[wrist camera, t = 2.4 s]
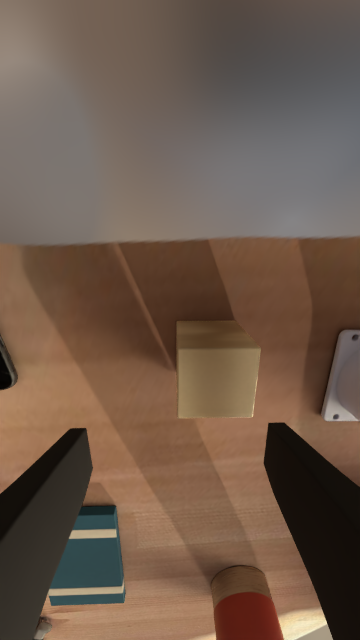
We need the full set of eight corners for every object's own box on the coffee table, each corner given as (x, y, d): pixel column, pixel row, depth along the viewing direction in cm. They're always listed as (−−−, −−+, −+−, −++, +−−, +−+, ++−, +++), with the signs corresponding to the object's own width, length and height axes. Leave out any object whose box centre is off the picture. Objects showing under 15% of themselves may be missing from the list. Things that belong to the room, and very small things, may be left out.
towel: (116, 505, 22) (114, 515, 21) (125, 592, 26) (124, 603, 25) (32, 507, 21) (26, 517, 20) (54, 595, 25) (51, 606, 25)
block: (236, 320, 16) (261, 347, 12) (231, 373, 18) (253, 417, 13) (176, 320, 16) (177, 348, 11) (176, 373, 18) (177, 419, 13)
